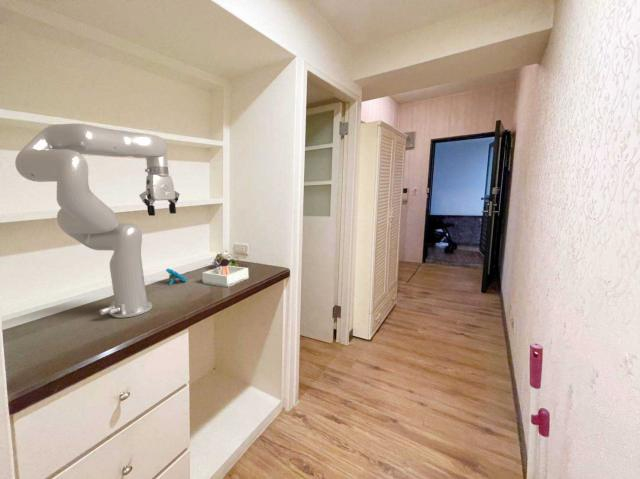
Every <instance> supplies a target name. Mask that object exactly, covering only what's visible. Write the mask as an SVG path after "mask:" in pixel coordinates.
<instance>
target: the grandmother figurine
mask: <svg viewBox="0 0 640 479" xmlns="http://www.w3.org/2000/svg"><path fill="white" fill-rule="evenodd" d="M220 254H221V255H220V256H221V257H222V259H223V260H221V263H220V265H219V270H221V267H222V271H221V275H229V274H230V273H229V269H228V266H231V265H230V262H229V260H227V255H228V252H227V253H226V252H225V251H223V252H220Z"/></svg>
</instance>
